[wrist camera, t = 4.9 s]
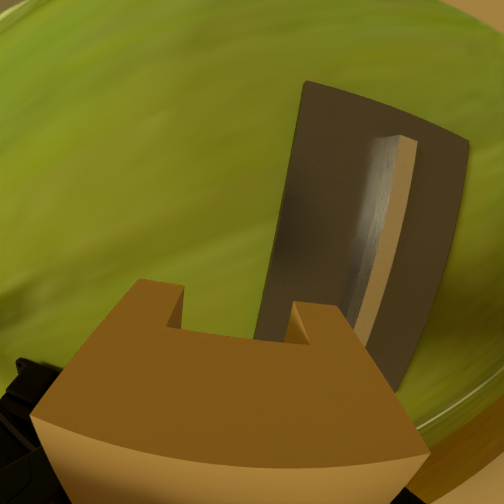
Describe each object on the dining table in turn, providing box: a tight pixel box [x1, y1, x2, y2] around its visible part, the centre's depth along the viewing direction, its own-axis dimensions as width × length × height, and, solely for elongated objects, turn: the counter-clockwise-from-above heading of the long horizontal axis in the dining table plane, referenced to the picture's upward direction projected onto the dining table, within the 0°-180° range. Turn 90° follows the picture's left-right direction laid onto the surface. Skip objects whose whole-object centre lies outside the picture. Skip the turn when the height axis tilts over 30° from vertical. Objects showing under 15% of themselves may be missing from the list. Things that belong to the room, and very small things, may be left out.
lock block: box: [30, 278, 431, 504], centre depth 6 cm, size 7×5×5 cm
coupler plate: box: [253, 81, 469, 393], centre depth 18 cm, size 20×12×2 cm, turn 170°
